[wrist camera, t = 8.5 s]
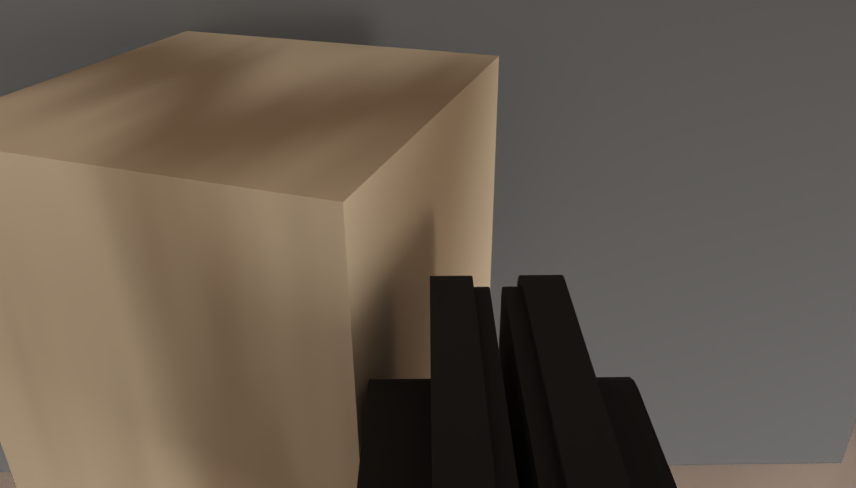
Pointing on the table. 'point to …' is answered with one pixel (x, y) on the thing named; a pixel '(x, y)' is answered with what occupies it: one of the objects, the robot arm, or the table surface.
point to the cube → (230, 254)
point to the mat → (622, 182)
